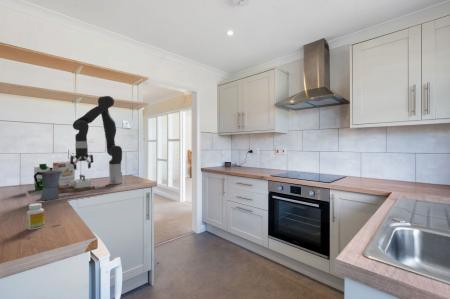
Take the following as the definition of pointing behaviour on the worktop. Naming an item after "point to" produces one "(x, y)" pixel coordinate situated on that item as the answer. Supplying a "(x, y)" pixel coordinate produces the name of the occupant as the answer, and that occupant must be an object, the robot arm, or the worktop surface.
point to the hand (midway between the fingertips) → (82, 169)
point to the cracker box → (65, 173)
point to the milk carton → (39, 177)
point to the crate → (82, 182)
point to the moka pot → (49, 184)
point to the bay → (72, 189)
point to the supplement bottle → (35, 216)
